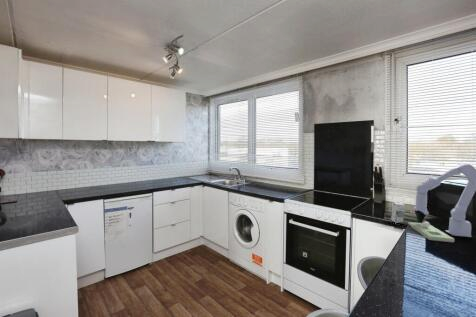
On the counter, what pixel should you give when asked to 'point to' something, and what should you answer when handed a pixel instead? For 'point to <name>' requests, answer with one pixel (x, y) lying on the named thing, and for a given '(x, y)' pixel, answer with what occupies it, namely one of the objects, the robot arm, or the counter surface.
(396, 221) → the syrup box
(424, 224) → the golf ball
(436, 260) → the counter surface
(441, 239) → the mat
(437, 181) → the robot arm
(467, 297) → the counter surface
